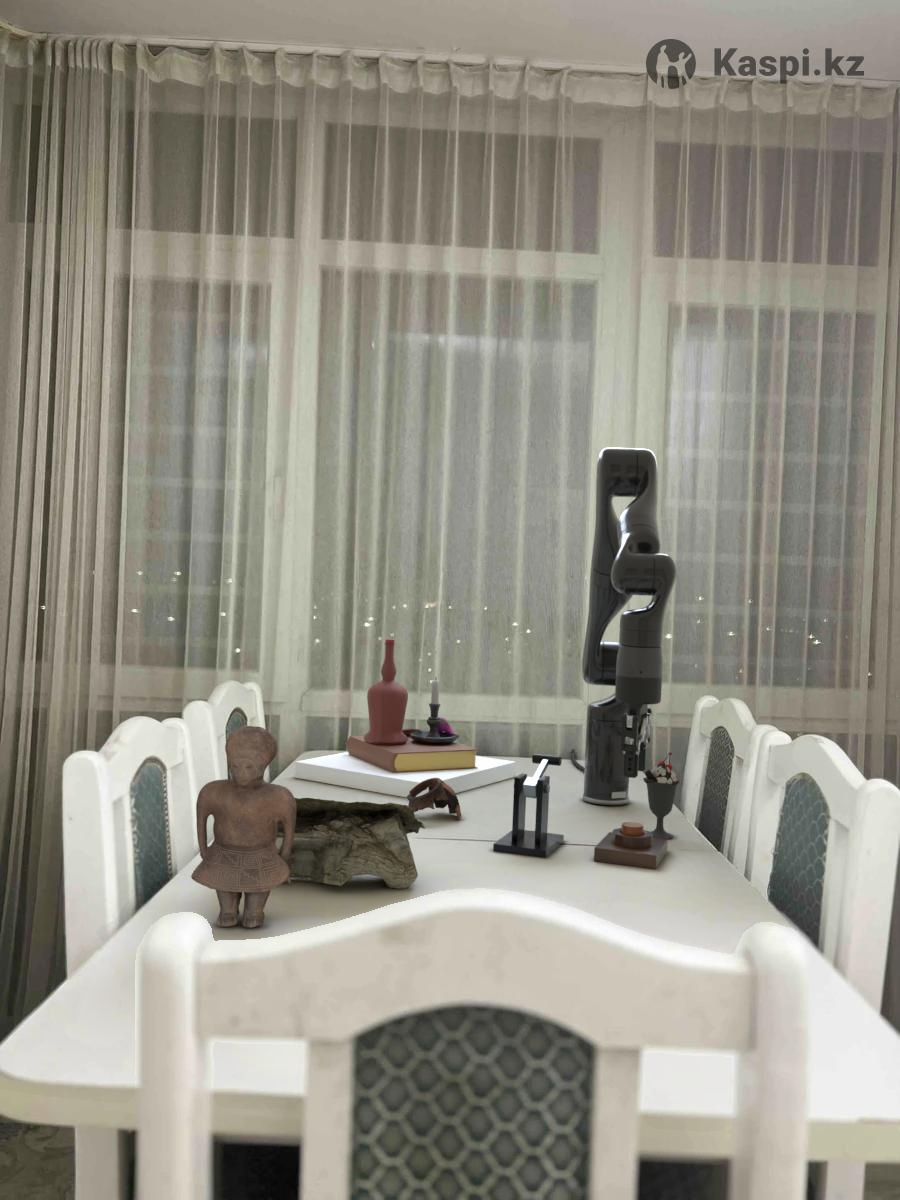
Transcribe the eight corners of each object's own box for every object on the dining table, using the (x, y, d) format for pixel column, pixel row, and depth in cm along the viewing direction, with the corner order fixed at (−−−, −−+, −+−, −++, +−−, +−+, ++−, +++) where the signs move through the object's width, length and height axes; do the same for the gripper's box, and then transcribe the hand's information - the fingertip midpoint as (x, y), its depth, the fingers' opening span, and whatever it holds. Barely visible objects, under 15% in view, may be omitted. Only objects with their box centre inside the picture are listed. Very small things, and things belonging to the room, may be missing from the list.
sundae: (680, 834, 191) (683, 752, 191) (675, 842, 185) (679, 757, 185) (643, 829, 194) (647, 748, 193) (638, 837, 187) (641, 754, 187)
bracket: (513, 835, 185) (516, 768, 185) (563, 841, 182) (566, 774, 182) (493, 850, 174) (496, 779, 174) (545, 857, 171) (548, 785, 171)
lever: (534, 762, 189) (534, 750, 188) (561, 764, 187) (561, 752, 186) (515, 796, 178) (514, 783, 177) (544, 799, 176) (543, 786, 175)
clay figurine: (180, 933, 128) (187, 729, 127) (199, 908, 138) (206, 718, 137) (286, 938, 128) (294, 733, 127) (298, 912, 138) (305, 722, 137)
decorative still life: (522, 774, 245) (528, 642, 244) (427, 801, 211) (433, 648, 210) (399, 755, 263) (405, 633, 263) (294, 777, 230) (300, 636, 229)
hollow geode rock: (230, 910, 152) (214, 855, 141) (243, 834, 161) (229, 776, 150) (423, 912, 152) (422, 857, 141) (425, 836, 161) (425, 778, 150)
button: (623, 831, 176) (623, 820, 176) (644, 833, 175) (645, 823, 175) (619, 835, 173) (619, 825, 173) (641, 838, 172) (641, 827, 172)
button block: (608, 844, 181) (609, 821, 181) (667, 852, 178) (668, 828, 178) (593, 861, 170) (594, 836, 170) (655, 869, 167) (657, 844, 167)
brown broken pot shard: (463, 826, 192) (444, 788, 190) (417, 845, 194) (398, 807, 192) (468, 797, 204) (449, 761, 202) (424, 814, 205) (405, 779, 204)
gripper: (654, 678, 165) (650, 783, 166) (668, 672, 179) (664, 769, 179) (607, 674, 168) (603, 778, 168) (624, 669, 182) (620, 765, 182)
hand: (634, 773), depth 174 cm, fingers open, 6 cm apart
